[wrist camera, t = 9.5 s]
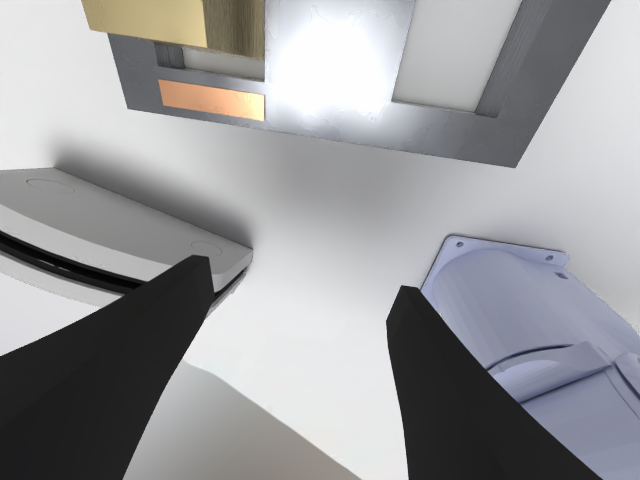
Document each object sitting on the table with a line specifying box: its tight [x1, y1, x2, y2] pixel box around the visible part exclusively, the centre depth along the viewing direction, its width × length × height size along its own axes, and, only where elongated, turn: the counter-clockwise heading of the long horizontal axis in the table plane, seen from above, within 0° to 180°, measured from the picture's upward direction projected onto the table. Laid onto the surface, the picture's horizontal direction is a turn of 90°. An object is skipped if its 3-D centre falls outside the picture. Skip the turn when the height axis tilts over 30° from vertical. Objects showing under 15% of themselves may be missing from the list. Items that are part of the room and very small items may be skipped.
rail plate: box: [107, 0, 611, 168], centre depth 12 cm, size 22×10×3 cm, turn 83°
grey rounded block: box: [0, 168, 253, 319], centre depth 18 cm, size 17×5×10 cm, turn 65°
